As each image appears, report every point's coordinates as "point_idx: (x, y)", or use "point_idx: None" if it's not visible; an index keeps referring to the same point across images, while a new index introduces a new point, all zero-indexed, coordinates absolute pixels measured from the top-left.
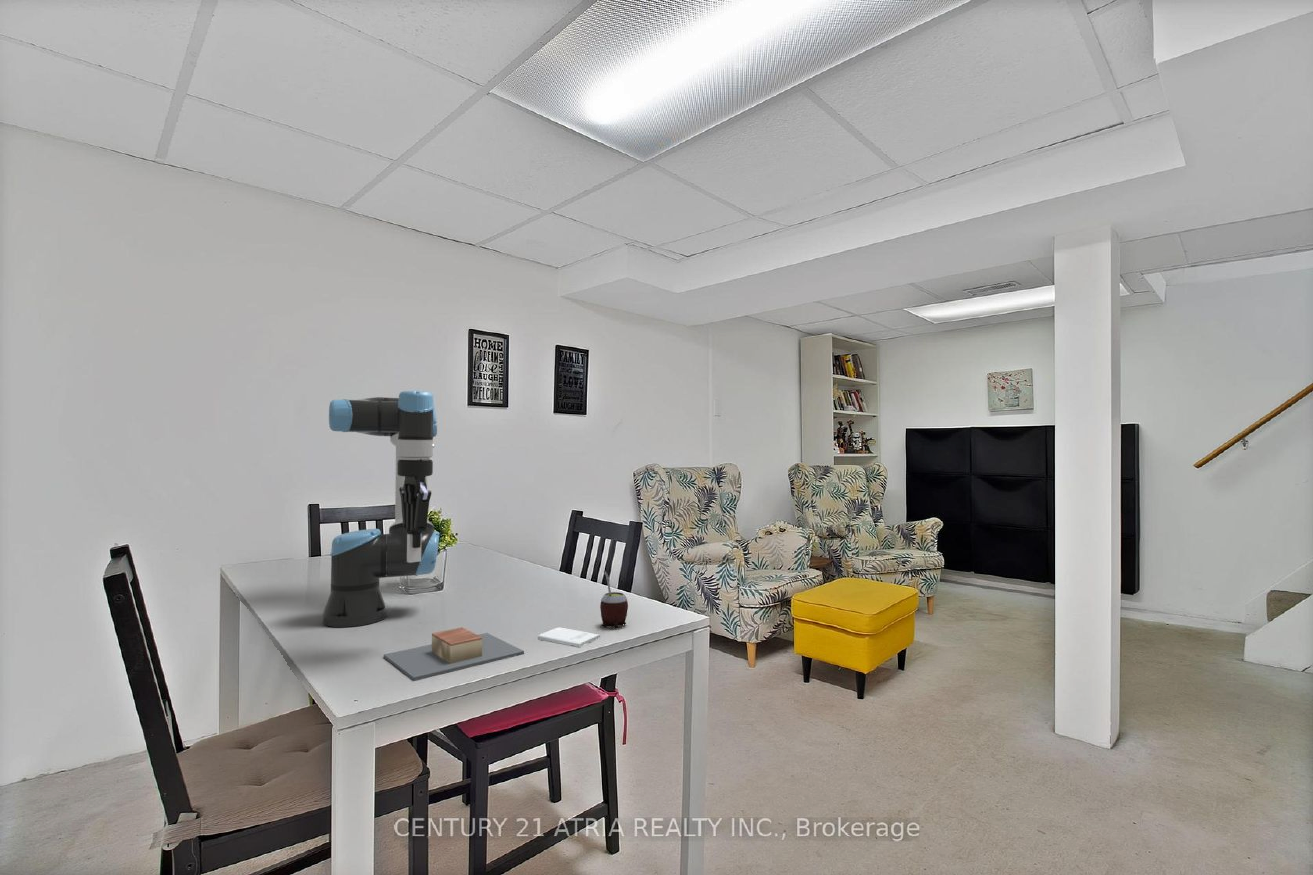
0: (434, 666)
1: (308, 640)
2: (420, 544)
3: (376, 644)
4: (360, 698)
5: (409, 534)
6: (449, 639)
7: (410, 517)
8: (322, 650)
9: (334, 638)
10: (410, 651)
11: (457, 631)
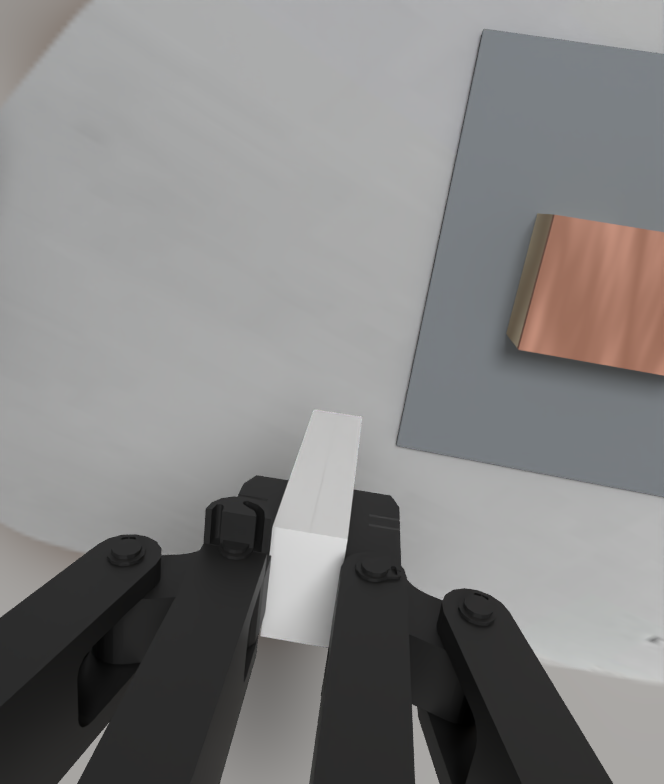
0: (649, 410)
1: (56, 495)
2: (397, 511)
3: (249, 390)
4: (653, 629)
5: (324, 643)
6: (654, 353)
7: (217, 774)
8: (188, 515)
9: (87, 440)
10: (440, 377)
11: (589, 267)
